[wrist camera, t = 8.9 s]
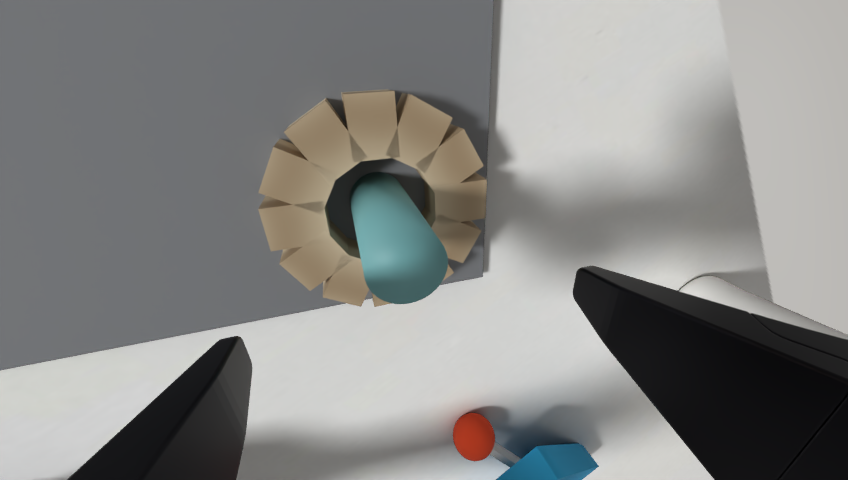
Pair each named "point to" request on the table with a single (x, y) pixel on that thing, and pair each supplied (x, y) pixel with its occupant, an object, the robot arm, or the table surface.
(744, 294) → the drinking glass
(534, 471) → the lever
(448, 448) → the table surface
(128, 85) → the charcoal mat
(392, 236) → the teal peg
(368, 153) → the birch segmented ring
